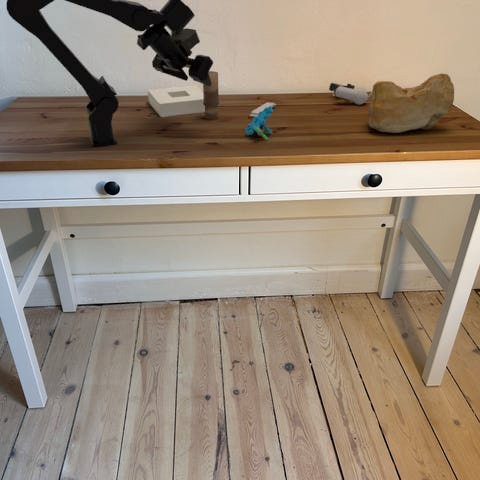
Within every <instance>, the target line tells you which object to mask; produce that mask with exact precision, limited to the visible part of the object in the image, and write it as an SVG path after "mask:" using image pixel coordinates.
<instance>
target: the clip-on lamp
mask: <svg viewBox="0 0 480 480" xmlns="http://www.w3.org/2000/svg"><path fill="white" fill-rule="evenodd" d="M328 90H329V91H330V92H332V96H333V97H335V96H336V97H337V98H341V99H345V100H350V101H353V103H354V104H355V105H359V106H361V105H363V104H364V103H365V102H367V101H368V99H369V98H370V97H372V91H373V88H372V89H371V92H370V94H368V93H367V90H366V89H365V88H363V87H359V88H356V86H355V85H353V84H351V83H347V85H344V84H339V83H334V82H331V83H330V84H329V88H328ZM334 93H335V94H334Z"/></svg>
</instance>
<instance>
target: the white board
mask: <svg viewBox="0 0 480 480" xmlns="http://www.w3.org/2000/svg"><path fill="white" fill-rule="evenodd" d="M147 96H148V97H147V98H148V103H149V104H150V106H151V107H152V108H153V109H154V111H155V112H156V113H157V114H158V115H159V117H160V118H165V117H166V118H167V117H174V116H181V115H182V116H183V115H191V114H200V113H205V106H204V104H203V102H204V97H203V90H201V89H200V88H199V87H198V86H197V85H196V84H195V85H186V86H176V87H175V86H174V87H166V88H155V89H147Z"/></svg>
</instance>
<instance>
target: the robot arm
mask: <svg viewBox="0 0 480 480" xmlns="http://www.w3.org/2000/svg"><path fill="white" fill-rule="evenodd" d="M52 2H55V0H6V10H7V11H6V12H7V13H8V15H9V17H11V19H12V20H14V22H16V23H17V24H19V25H20V26H21V27H22V28H23V29H24V30H26V31H27V32H28V33H30V34H32V35H33V36H35V37H36V39H38V40H39V41H40V43H42V44H43V45H44V46H45V48H46V49H47V50H48V51H49V52H50V53H51V54H52V55H53V56H54V58H55V59H56V60H57V61H58V62H59V63H60V64H61V65H62V67H63V68H65V70H67V73H69V74H70V75H71V77H73V78H74V80H75V81H76V82H77V83H78V84H79V85H80V86H81V88H82V89H83V90H84V92H85V94H86V95H87V97H88V98H89V100H90V101H89V102H88V103H87V104H86V105H85V107H84V109H85V111H86V114H87V116H88V126H89V132H90V136H89V137H88V138H89V141H90V144H91V147H100V146H101V147H102V146H109V145H115V144H118V142H119V141H118V139H117V138H116V135H115V134H114V128H113V117H114V116H113V115H114V114H115V113H116V112H117V110H118V108H119V100H118V98H117V95H118V93H117V91H116V90H115V88H114V87H113V86H111V85H110V84H108V82H107V80H106V78H105V77H104V75H101V76H100V77H99V78H97V77H96V76H94V74H92V73H91V71H90V70H89V69H87V67H86V66H85V65H84V64H83V62H82V61H81V60H80V59H79V58H78V57H77V56H76V55H75V53H74V52H73V51H72V50H71V49H70V48H69V46H68V45H67V44H66V43H65V42H64V41H63V40H62V38H61V37H60V36H59V35H58V34H57V32H55V31H54V29H53V28H52V27H51V26H50V24H49V23H48V21H47V20H46V18H45V16H44V15H43V13H42V11H41V10H42V9H44V8H45V7H47V6H48V5H49V4H51V3H52ZM64 2H68V3H71V4H74V5H77V6H79V7H82V8H86V9H88V10H92V11H94V12H97V13H100V14H103V15H106V16H109V17H111V18H113V19H115V20H116V21H118V22H119V23H122V24H124V25H125V26H127V27H129V28H130V29H132V30H135V31H136V32H143V33H141V34H138V35H137V40H136V41H137V42H136V45H138V47H140V49H141V50H143V51H145V50H146V49H147V48H148V47H150V48H151V49H152V50H153V52H154V53H155V56H154V58H153V59H152V61H151V64H152V68H153V69H155V70H156V71H157V72H160V73H162V74H165V75H168V76H171V77H174V78H176V79H180V80H183V81H185V82H187V81H188V79H189V77H190V78H191V79H192V80H193V81H194V82H197V83H199V84H201V85H203V84H204V85H206V86H209V87H210V86H211V80H210V77H209V73H208V72H209V71H211V68H212V67H213V65H214V61H213V59H212V58H211V57H210V56H209V55H204V54H196V56H195V57H194V58H191V57H190V56H191V55H192V54H193V50H192V49H193V48H194V47H195V46H196V45H198V44H200V42H201V40H200V38H199V36H198V32H197V30H196V29H194V28H193V29H192V28H189V27H187V25H188V24H189V23H190V22H191V20H193V18H194V17H195V15H196V14H195V13H194V12H193V10H192V9H191V8H190V7H189V5H187V4H185V2H183V0H168V1H167V2H166V3H165V4H164V5H163V7H161V9H160V10H159V11H158V10H157V9H150V8H148V7H146V6H145V5H143V4H141V3H139V2H138V1H133V0H132V1H131V0H64ZM186 27H187V28H186ZM166 28H167V29H168V30H169V31H170V32H169V31H168V30H167V29H166ZM184 68H188V75H187V73H186V72H185V71H184Z"/></svg>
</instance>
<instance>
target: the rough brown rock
mask: <svg viewBox="0 0 480 480" xmlns="http://www.w3.org/2000/svg"><path fill="white" fill-rule="evenodd" d="M372 89H373V91H372V90H371V92H372V94H371V96H370V97H371V98H370V101H369V106H368V119H367V120H368V121H367V122H368V126H369V127H370V128H372V129H374V130H376V131H379V132H381V133H391V134H396V133H397V134H398V133H403V132H404V133H405V132H407V131H411V130H419V129H421V130H430V129H432V128H433V126H434V125H435V124H436V123H438V121H439V119H440V118H441V117H444V116H445V115H446V114H447V113H448V112H451V110H452V109H453V106H454V100H455V86H454V83H453V82H452V80H451V77H450V76H449V74H448V73H438V74H434V75H431V76H430V77H429V78H427V79H426V80H424V82H422V83H420V84H419V85H417V86H413V87H405V88H402V87H401V86H399V85H397V84H396V83H395V82H393V81H392V80H391V81H390V80H389V81H386V80H385V81H384V80H381V81H380V80H379V81H376V82H375V83H374V84H373V86H372Z"/></svg>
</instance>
